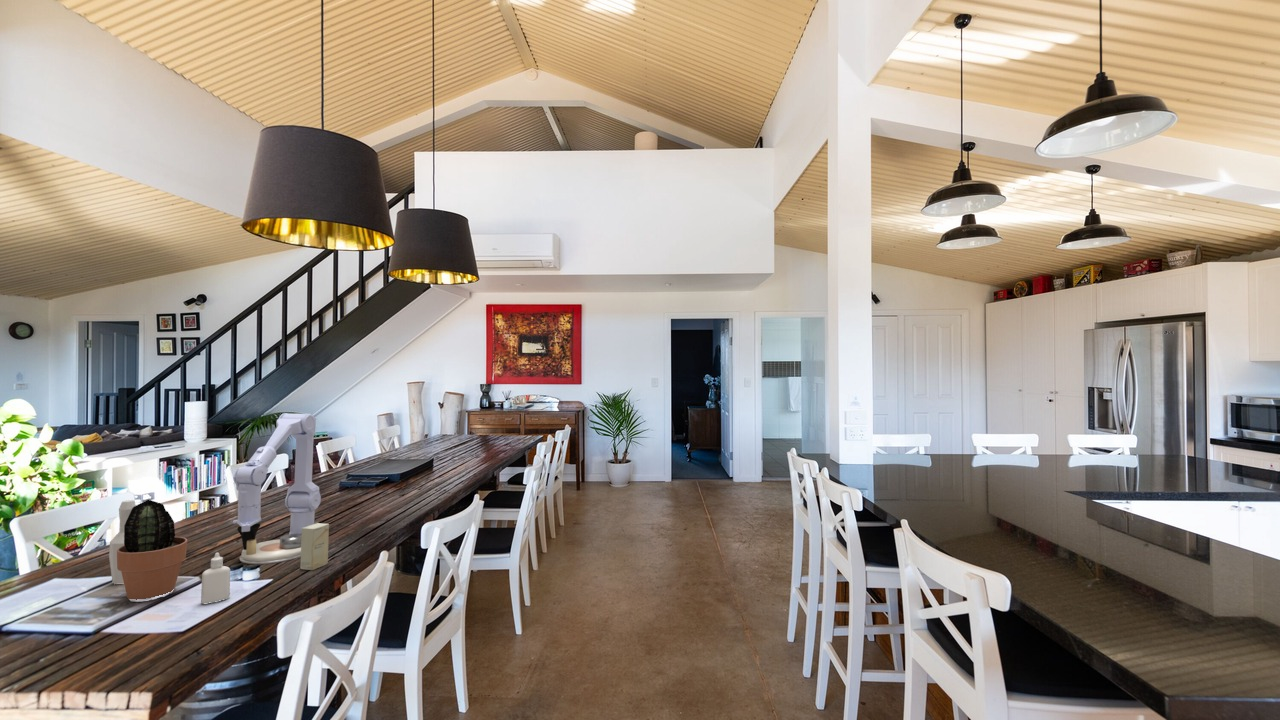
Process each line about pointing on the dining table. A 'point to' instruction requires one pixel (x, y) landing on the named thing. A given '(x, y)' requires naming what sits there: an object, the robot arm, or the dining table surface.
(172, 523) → the potted plant
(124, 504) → the faceted bottle
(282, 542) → the cover
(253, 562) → the turntable base
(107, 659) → the dining table surface
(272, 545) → the disc
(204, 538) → the dining table surface
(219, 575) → the eye dropper bottle
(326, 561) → the skincare box
